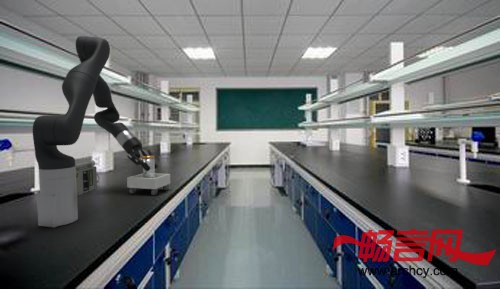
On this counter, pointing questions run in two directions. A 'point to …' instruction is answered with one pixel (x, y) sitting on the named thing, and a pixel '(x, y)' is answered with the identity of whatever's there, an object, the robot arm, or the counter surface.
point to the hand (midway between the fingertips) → (152, 168)
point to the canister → (151, 162)
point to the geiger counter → (86, 177)
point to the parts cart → (148, 182)
